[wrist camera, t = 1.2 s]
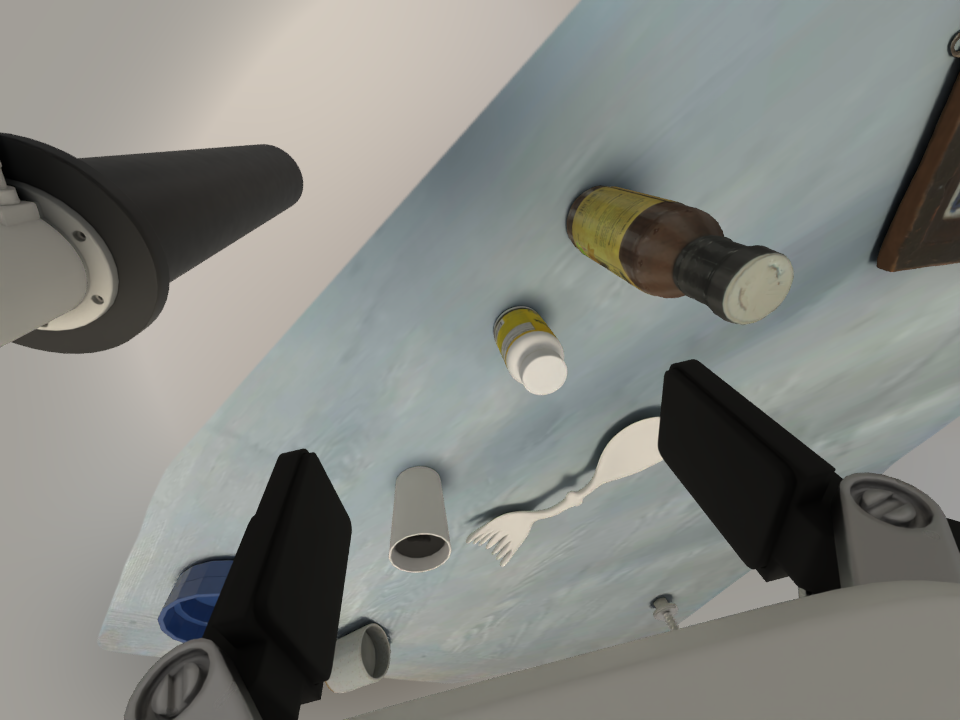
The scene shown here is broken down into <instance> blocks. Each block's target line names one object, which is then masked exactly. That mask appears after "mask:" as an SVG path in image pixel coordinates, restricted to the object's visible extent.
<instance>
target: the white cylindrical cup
mask: <svg viewBox="0 0 960 720" xmlns="http://www.w3.org/2000/svg"><path fill="white" fill-rule="evenodd" d="M450 553H451V544H450V537H449V531H448V524H447V518H446V511H445V505H444V498H443V492H442V485H441V479H440V476H439V474H438V473H437V472H436V471H435V470H433V469H431V468H428V467H420V466H417V467H412V468H408V469H407V470H405V471H403V472H402V473H401V474H400V475H399V476H398V478H397V480H396V486H395V497H394V507H393V518H392V528H391V539H390V549H389V559H390V561H391V563H392V565H393V566H395V567H396V568H398V569H399V570H403V571H406V572H425V571H429V570H433V569H435V568H437V567H438V566H440V565H442V564H443V563H444V562H445V561H446V560H447V559H448V558H449V556H450Z"/></svg>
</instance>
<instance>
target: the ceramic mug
mask: <svg viewBox="0 0 960 720" xmlns="http://www.w3.org/2000/svg"><path fill="white" fill-rule="evenodd" d="M390 653H391V650H390V644H389V641H388V638H387V636H386V634H385V632H384V630H383V629H382V628H381V627H380V626H379V625H377V624H375V623H371V624H368V625H366V626H364V627H362V628H360V629H358V630H356V631H354V632H352V633H350V634H348V635H346V636H344V637H342V638H340V639H338V640H337V641H336V646H335V653H334V660H333V667H332V672H331V676H330V678H329V680H327V681H325V683H326V685H327V686H328V688H329V689H330V690H331V691H333V692H335V693H345V692H349V691H352V690H354V689H357V688H359V687H362V686H365V685H368V684H371V683H374V682H377V681H379V680H381V679H382V678H383V677H384V676H385V674H386V673H387V670H388V668H389V664H390Z"/></svg>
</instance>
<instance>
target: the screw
mask: <svg viewBox="0 0 960 720" xmlns="http://www.w3.org/2000/svg"><path fill="white" fill-rule="evenodd" d="M654 605H655V607H656V610H655V611H654V612H653V616H654V618H655V619H657V620H665V622H666V623H667V626H669V627H668V628H669V629H670V631H672V630H676V629H679V626H678V625H677V622H675V619H674V618H673V616H675V615H676V614H677V612H678V607H677V605H676V604H672V603H668V601H667V600H666V599H665V598H659V599H657V600H656V601H655V602H654Z"/></svg>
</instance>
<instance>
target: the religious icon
mask: <svg viewBox="0 0 960 720" xmlns="http://www.w3.org/2000/svg"><path fill="white" fill-rule="evenodd" d="M959 39H960V32H959V33H958V34H957V35H956V36H955V38H954V39H953V41H952V44H951V53H952V55H953V56H954V57H960V51H958V52H956V51H955V49H954V46H955V44H956V42H957V40H959ZM953 263H960V72H959V75H958V77H957V79H956V82H955V84H954V86H953V88H952V91H951V93H950V96H949V98H948V100H947V102H946V105H945V107H944V109H943V111H942V113H941V116H940V118H939V120H938V122H937V125H936V127H935V130H934V133H933V135H932V137H931V139H930V141H929V143H928V146H927V149H926V151H925V153H924V156H923V158H922V160H921V162H920V164H919V167H918V169H917V171H916V173H915V175H914V177H913V178H912V180H911V183H910V185H909V187H908V189H907V191H906V193H905V195H904V197H903V199H902V201H901V203H900V205H899V207H898V209H897V212H896V214H895V217H894V218H893V221H892V222H891V225H890V228H889V229H888V232H887V234H886V236H885V238H884V241H883V243H882V246H881V249H880V251H879V254H878V257H877V267H878V268H880V269H883V270H886V271H889V272H896V271H902V270H910V269H916V268H922V267H929V266H940V265H947V264H953Z"/></svg>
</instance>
